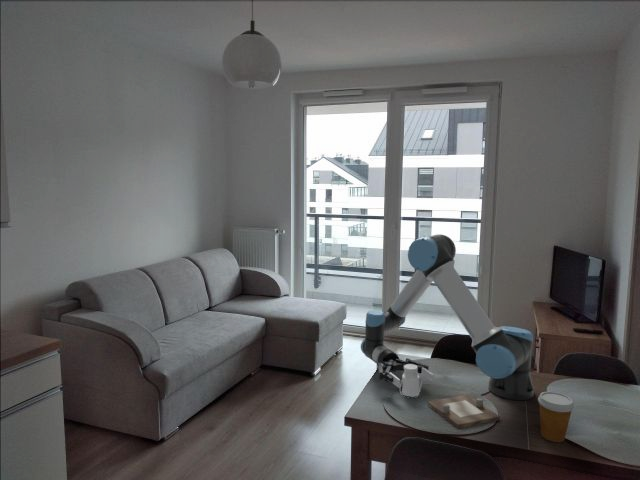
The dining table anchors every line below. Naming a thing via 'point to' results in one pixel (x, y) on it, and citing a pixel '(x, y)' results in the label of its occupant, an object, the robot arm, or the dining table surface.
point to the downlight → (410, 380)
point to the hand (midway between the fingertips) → (416, 381)
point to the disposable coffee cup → (554, 415)
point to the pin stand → (464, 411)
